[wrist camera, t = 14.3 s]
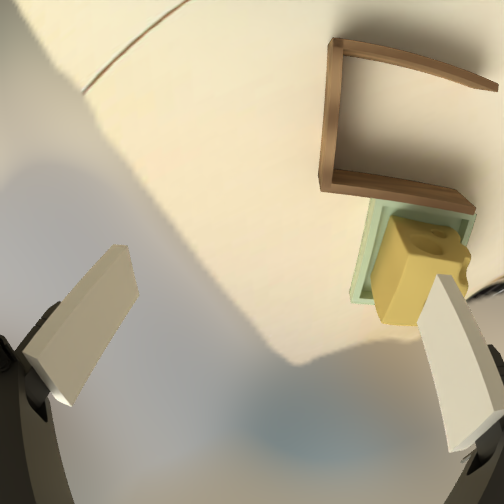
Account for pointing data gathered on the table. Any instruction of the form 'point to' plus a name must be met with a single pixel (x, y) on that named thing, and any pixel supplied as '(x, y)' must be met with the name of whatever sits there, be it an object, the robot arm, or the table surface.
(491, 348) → the robot arm
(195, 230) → the table surface
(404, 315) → the cheese
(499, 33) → the table surface
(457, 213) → the tray
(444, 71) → the cubby
